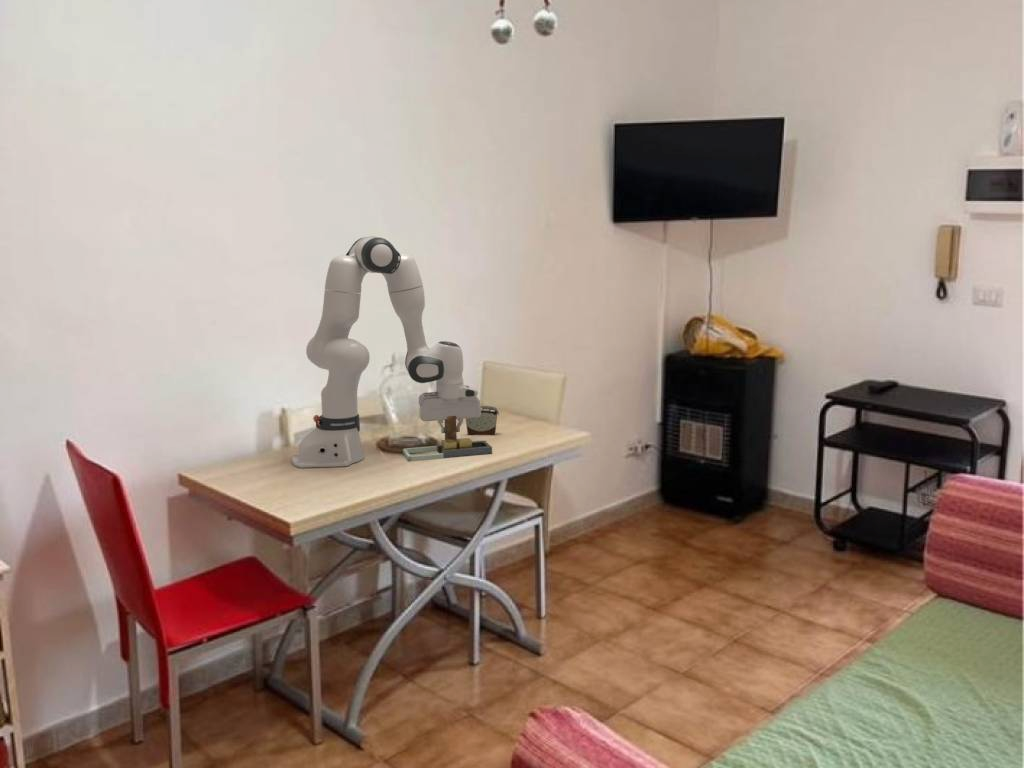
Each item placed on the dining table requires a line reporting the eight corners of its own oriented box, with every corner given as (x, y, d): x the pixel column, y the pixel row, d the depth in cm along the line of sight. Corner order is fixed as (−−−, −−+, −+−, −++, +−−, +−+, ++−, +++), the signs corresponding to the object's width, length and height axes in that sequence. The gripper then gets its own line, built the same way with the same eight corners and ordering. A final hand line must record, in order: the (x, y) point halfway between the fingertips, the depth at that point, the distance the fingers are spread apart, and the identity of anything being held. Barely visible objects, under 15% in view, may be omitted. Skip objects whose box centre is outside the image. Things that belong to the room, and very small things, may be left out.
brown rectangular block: (447, 449, 304) (447, 416, 302) (445, 446, 308) (444, 413, 306) (456, 448, 305) (456, 415, 303) (453, 445, 309) (453, 413, 307)
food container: (501, 433, 324) (500, 405, 322) (499, 438, 318) (499, 409, 316) (466, 432, 326) (465, 405, 324) (463, 437, 320) (463, 409, 318)
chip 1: (444, 455, 294) (444, 443, 293) (441, 452, 298) (441, 440, 297) (456, 454, 295) (456, 442, 294) (453, 451, 299) (453, 439, 298)
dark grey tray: (443, 461, 291) (443, 452, 290) (436, 453, 300) (436, 444, 300) (492, 456, 296) (492, 447, 295) (484, 448, 305) (484, 440, 304)
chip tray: (408, 464, 288) (408, 456, 287) (402, 455, 297) (402, 448, 297) (443, 461, 291) (443, 453, 290) (436, 453, 300) (436, 445, 300)
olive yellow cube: (459, 454, 295) (459, 441, 294) (456, 450, 299) (456, 438, 298) (472, 453, 296) (471, 440, 296) (468, 449, 300) (468, 437, 299)
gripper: (420, 395, 297) (421, 436, 300) (482, 391, 303) (482, 432, 305) (416, 391, 303) (417, 432, 306) (477, 387, 309) (477, 427, 311)
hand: (450, 432), depth 306 cm, fingers closed on brown rectangular block, 3 cm apart
